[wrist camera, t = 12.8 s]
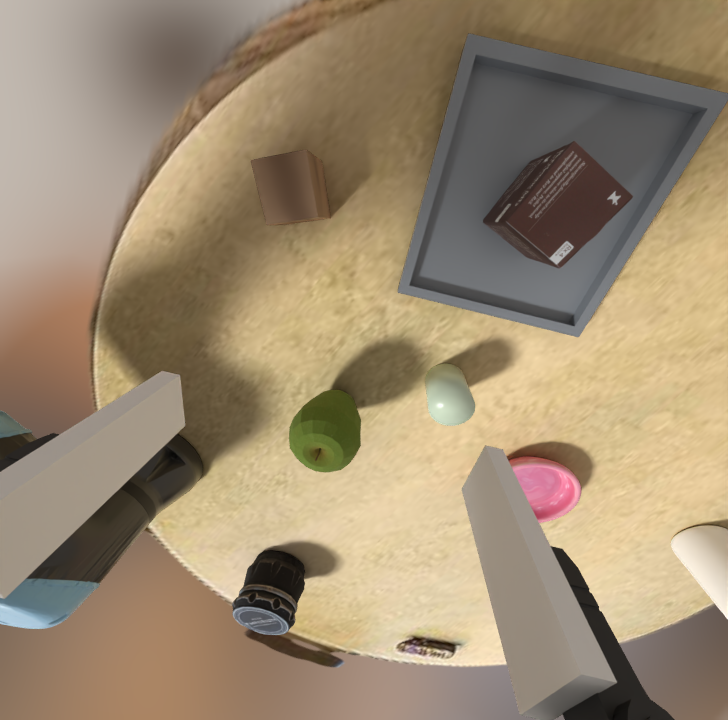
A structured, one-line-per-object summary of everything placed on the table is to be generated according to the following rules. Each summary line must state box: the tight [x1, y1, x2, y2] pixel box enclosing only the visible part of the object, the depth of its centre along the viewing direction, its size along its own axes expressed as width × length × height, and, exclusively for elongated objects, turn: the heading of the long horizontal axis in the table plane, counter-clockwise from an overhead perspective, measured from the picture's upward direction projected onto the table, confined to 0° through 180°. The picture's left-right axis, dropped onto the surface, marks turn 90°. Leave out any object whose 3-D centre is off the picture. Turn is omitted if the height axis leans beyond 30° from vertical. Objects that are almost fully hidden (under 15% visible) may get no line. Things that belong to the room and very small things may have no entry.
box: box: [483, 141, 633, 269], centre depth 23 cm, size 6×6×7 cm
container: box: [232, 551, 305, 635], centre depth 57 cm, size 13×13×10 cm
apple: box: [289, 390, 361, 472], centre depth 34 cm, size 9×8×12 cm
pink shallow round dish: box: [508, 456, 581, 523], centre depth 41 cm, size 12×12×3 cm
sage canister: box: [425, 363, 475, 426], centre depth 33 cm, size 5×5×6 cm
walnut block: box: [251, 150, 331, 225], centre depth 27 cm, size 5×5×5 cm
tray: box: [398, 33, 728, 337], centre depth 26 cm, size 20×20×2 cm
